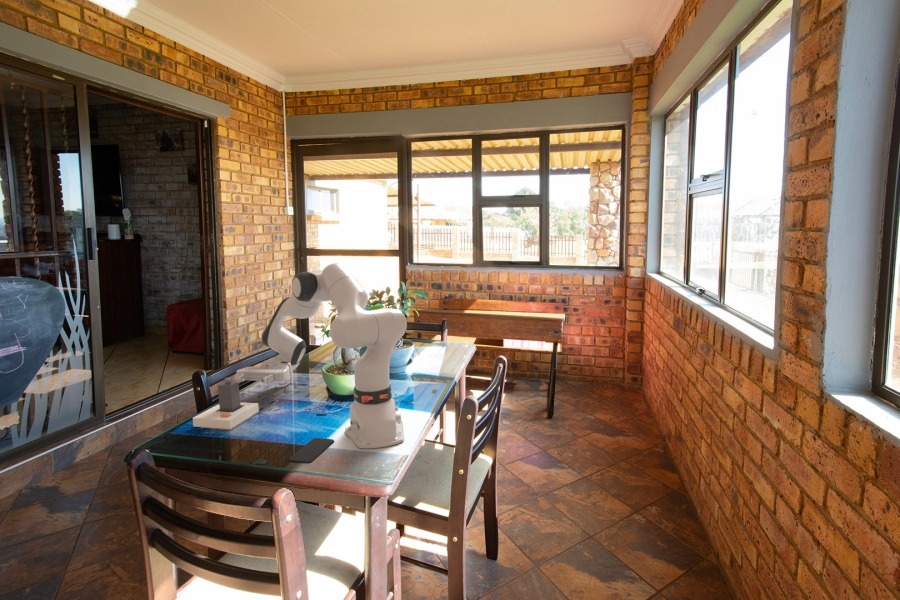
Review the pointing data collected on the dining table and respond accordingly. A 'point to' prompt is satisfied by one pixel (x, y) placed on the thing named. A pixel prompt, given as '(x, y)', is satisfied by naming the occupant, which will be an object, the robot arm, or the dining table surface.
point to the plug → (229, 396)
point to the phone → (311, 450)
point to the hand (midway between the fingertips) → (251, 380)
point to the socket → (225, 417)
